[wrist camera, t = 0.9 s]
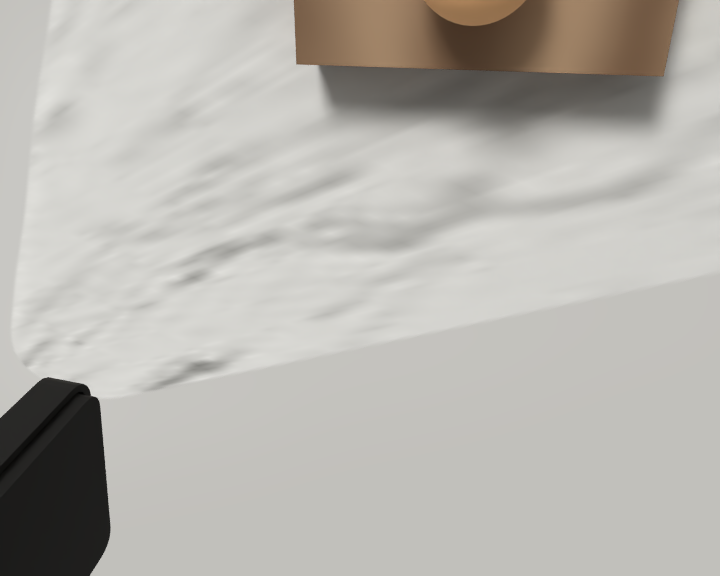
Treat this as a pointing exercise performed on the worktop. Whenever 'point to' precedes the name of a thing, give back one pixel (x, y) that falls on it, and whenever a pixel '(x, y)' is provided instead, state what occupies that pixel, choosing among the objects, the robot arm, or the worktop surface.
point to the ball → (474, 10)
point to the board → (489, 36)
